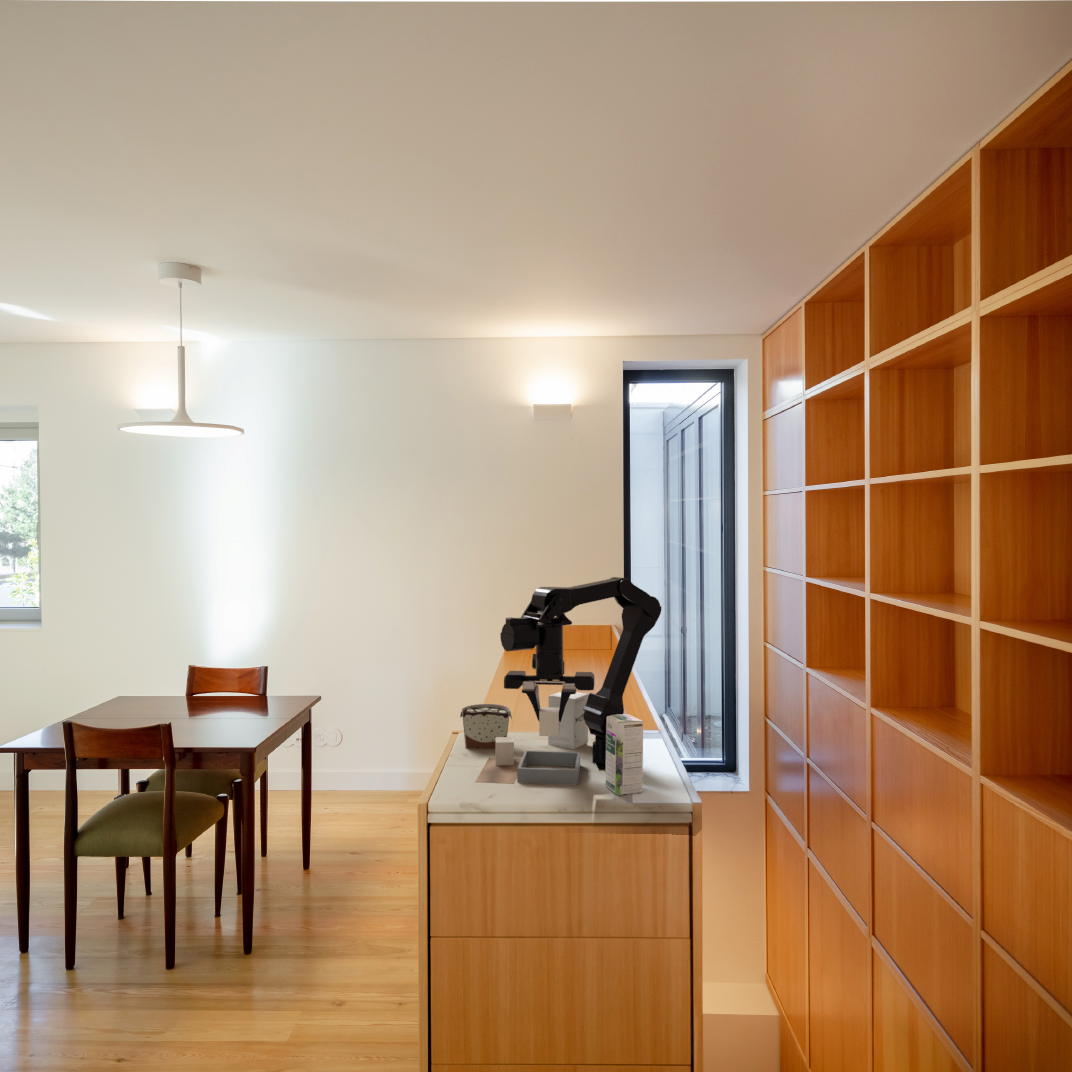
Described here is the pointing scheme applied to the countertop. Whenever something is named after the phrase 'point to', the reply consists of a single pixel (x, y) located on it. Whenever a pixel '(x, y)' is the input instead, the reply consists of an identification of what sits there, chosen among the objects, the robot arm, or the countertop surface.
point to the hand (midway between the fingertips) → (549, 721)
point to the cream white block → (504, 751)
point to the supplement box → (570, 721)
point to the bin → (549, 774)
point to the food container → (484, 724)
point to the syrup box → (624, 754)
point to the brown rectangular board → (498, 772)
